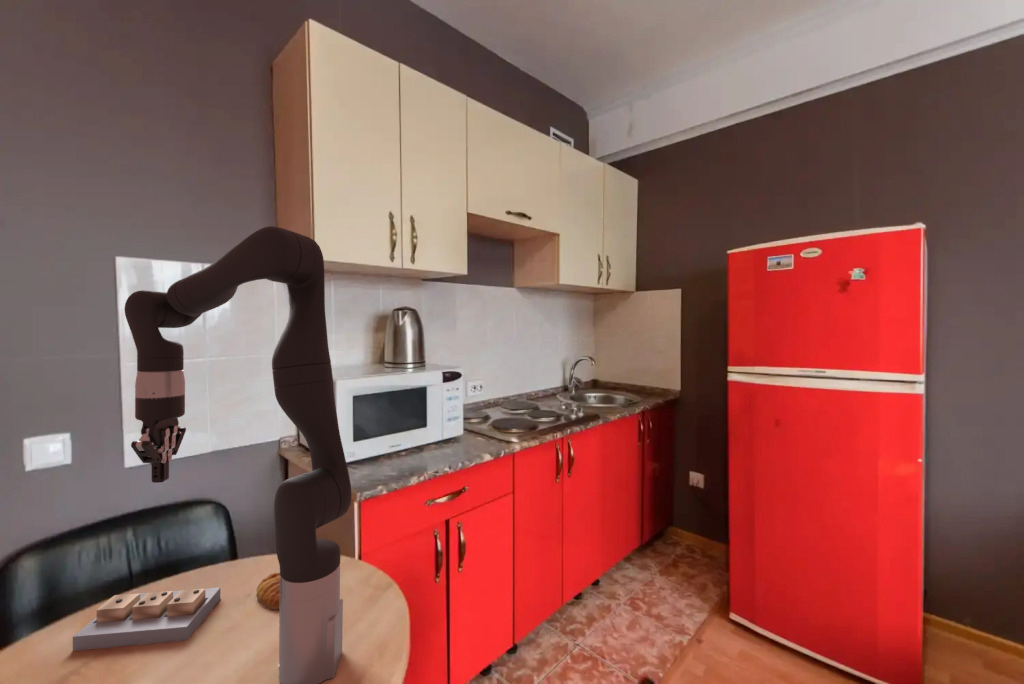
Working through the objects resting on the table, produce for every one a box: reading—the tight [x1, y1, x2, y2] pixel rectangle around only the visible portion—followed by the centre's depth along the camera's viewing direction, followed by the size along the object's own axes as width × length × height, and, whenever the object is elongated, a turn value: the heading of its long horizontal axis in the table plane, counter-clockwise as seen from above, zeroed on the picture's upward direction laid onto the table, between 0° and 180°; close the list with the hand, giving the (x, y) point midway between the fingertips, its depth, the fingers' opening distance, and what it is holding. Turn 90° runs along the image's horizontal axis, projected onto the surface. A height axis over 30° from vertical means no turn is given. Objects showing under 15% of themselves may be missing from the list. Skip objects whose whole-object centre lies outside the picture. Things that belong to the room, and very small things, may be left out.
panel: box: [72, 587, 221, 651], centre depth 82 cm, size 18×12×2 cm, turn 100°
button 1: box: [96, 592, 141, 623], centre depth 80 cm, size 4×4×3 cm
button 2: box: [167, 588, 206, 617], centre depth 82 cm, size 4×4×3 cm
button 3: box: [132, 590, 174, 620], centre depth 81 cm, size 4×4×3 cm
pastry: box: [255, 572, 280, 610], centre depth 90 cm, size 9×7×4 cm
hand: (160, 481), depth 83 cm, fingers closed
